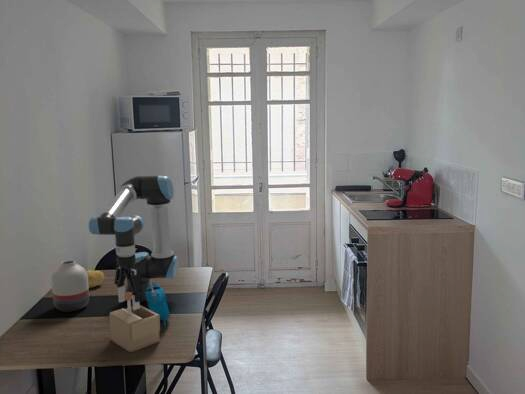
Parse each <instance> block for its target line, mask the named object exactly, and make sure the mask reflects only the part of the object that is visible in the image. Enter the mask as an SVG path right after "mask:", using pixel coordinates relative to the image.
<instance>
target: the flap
mask: <svg viewBox="0 0 525 394" xmlns="http://www.w3.org/2000/svg"><path fill="white" fill-rule="evenodd" d="M124 298H125V301H126V300H127V301H126V302H127V303H126V304H127V308H128V310H126V308H125V307H124V308H120V309H119V308H118V309H116V310H113V311H110V312H109V314H111V315H113V316H115V317H116V318H118V319H120V320H121V321H123V322H125V323H127V324H128V325H129V324H132V323H135V322H138V321H141V320H142V318H141V317H139V316H137V315H135V314H133V313H131V307H132V302H131V299H132V293H131V292H126V293H125V295H124Z"/></svg>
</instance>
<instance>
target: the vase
mask: <svg viewBox="0 0 525 394" xmlns="http://www.w3.org/2000/svg"><path fill="white" fill-rule="evenodd" d="M86 271H87V270H86V269H85V268H84V267H83V266H81V265H80V264H78V263H76V261H75V260H72V259H68V260H64V261H62V262H61V264H60V265H59V267H57V268H56V269H54V271H53V273H52V274H51V294H52V302H53V305H54V307H55V309H56V310H57V311H59V312H63V313H65V312H66V313H70V312H77V311H80V310H83V309H84V308H86V306H87V305H88V304H89V301H90V290H89V289H90V288H89V286H88V276H87V272H86Z"/></svg>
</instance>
